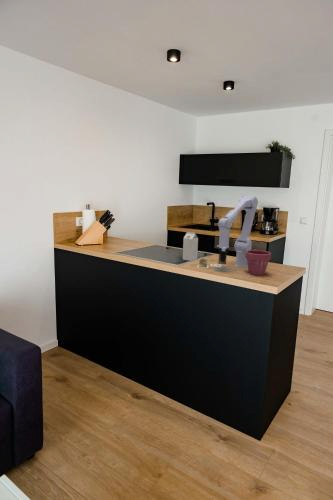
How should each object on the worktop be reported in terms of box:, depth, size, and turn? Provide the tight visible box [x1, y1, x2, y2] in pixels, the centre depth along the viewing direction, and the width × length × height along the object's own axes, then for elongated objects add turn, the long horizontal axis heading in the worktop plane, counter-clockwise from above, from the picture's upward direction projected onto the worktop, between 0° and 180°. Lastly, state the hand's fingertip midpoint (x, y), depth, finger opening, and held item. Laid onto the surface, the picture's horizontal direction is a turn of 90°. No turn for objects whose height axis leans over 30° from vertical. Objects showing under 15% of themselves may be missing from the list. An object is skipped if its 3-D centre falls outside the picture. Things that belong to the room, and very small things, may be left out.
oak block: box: [198, 257, 208, 268], centre depth 212 cm, size 4×4×5 cm
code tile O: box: [196, 264, 210, 269], centre depth 213 cm, size 7×7×1 cm
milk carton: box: [182, 231, 199, 262], centre depth 230 cm, size 7×7×19 cm
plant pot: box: [245, 249, 272, 276], centre depth 200 cm, size 14×14×13 cm
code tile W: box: [210, 263, 223, 268], centre depth 216 cm, size 7×7×1 cm
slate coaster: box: [214, 267, 231, 273], centre depth 206 cm, size 9×9×1 cm
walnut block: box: [217, 253, 227, 265], centre depth 205 cm, size 4×4×5 cm
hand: (222, 260), depth 205 cm, fingers closed on walnut block, 4 cm apart
